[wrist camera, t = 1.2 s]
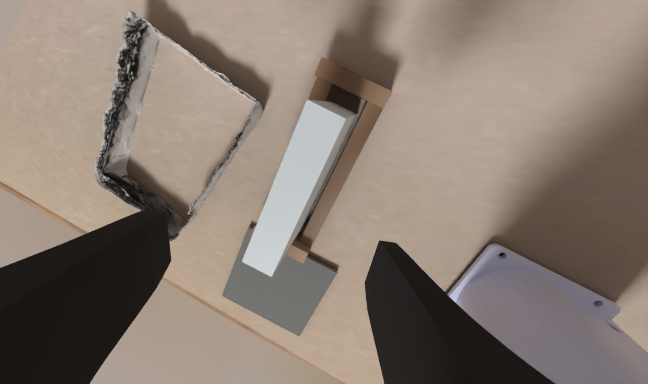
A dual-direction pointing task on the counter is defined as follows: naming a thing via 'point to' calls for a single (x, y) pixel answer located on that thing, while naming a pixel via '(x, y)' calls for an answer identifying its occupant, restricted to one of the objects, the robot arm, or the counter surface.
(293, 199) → the board
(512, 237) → the counter surface
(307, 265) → the mat
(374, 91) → the rack
